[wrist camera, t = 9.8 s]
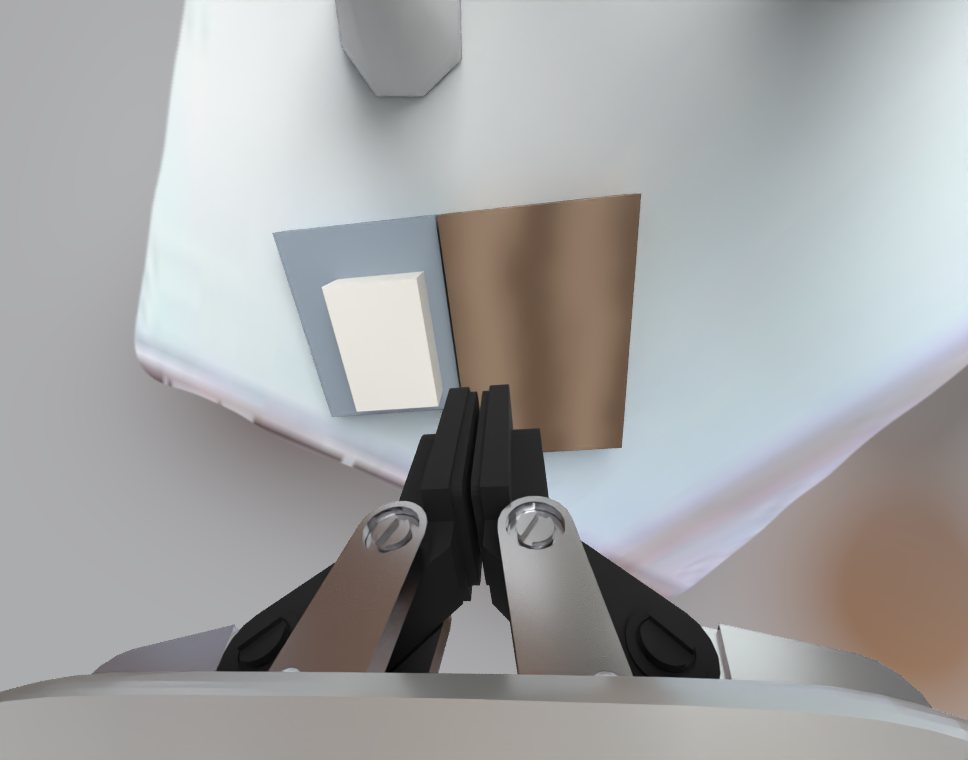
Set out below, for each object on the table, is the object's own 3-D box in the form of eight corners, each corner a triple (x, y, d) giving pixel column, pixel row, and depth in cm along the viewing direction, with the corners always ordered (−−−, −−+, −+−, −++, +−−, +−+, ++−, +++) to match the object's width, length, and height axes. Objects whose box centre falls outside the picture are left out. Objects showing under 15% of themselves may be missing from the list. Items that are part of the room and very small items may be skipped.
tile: (423, 271, 25) (416, 278, 23) (442, 390, 29) (438, 406, 26) (337, 279, 25) (321, 287, 23) (367, 395, 29) (356, 411, 27)
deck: (625, 194, 24) (640, 193, 21) (611, 426, 32) (621, 447, 29) (443, 213, 25) (436, 215, 22) (473, 435, 33) (470, 456, 30)
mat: (439, 214, 25) (434, 215, 23) (464, 395, 31) (462, 407, 29) (288, 230, 26) (272, 233, 24) (341, 404, 32) (332, 416, 30)
